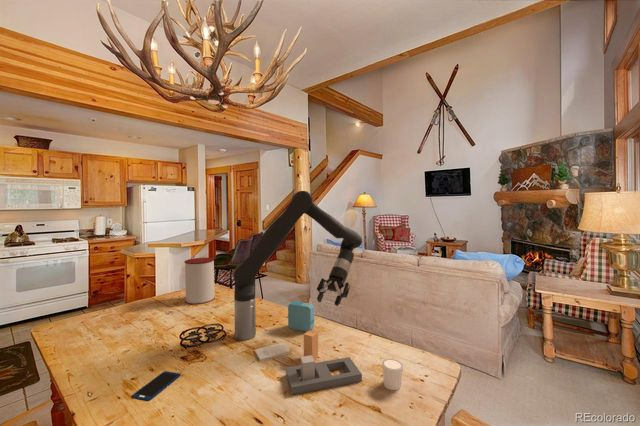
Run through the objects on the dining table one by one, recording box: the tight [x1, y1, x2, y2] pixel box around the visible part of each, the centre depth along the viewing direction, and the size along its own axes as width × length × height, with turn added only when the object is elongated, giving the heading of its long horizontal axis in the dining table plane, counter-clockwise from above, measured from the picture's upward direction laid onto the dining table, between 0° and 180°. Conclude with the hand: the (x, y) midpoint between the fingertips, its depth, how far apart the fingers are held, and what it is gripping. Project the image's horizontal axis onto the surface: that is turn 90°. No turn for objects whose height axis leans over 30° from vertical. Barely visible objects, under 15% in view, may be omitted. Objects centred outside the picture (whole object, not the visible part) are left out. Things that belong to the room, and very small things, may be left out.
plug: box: [303, 329, 319, 362], centre depth 110 cm, size 4×4×10 cm
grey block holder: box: [285, 355, 363, 396], centre depth 97 cm, size 24×11×8 cm, turn 106°
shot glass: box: [381, 358, 404, 391], centre depth 94 cm, size 7×7×7 cm
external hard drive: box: [254, 341, 291, 362], centre depth 114 cm, size 2×8×12 cm
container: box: [184, 257, 216, 305], centre depth 177 cm, size 17×17×25 cm
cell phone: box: [131, 370, 182, 402], centre depth 94 cm, size 7×14×1 cm, turn 166°
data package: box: [287, 300, 315, 333], centre depth 136 cm, size 12×4×12 cm, turn 66°
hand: (327, 303), depth 119 cm, fingers open, 8 cm apart
